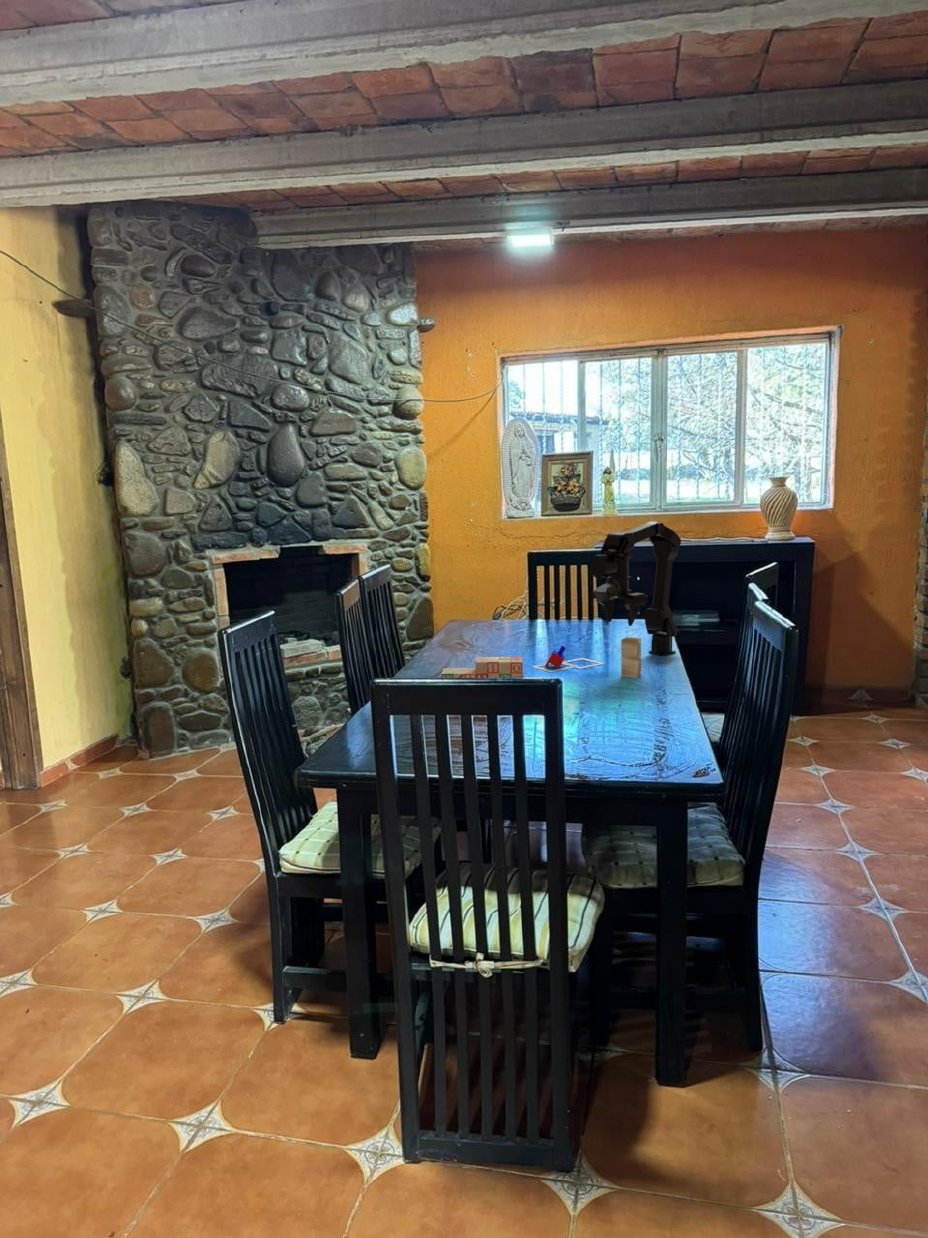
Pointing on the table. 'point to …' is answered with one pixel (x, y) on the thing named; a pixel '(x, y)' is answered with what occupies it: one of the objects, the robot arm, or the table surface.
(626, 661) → the beech pillar
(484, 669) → the stack of blocks
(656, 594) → the robot arm
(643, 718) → the table surface
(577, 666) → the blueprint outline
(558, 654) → the toy building block
